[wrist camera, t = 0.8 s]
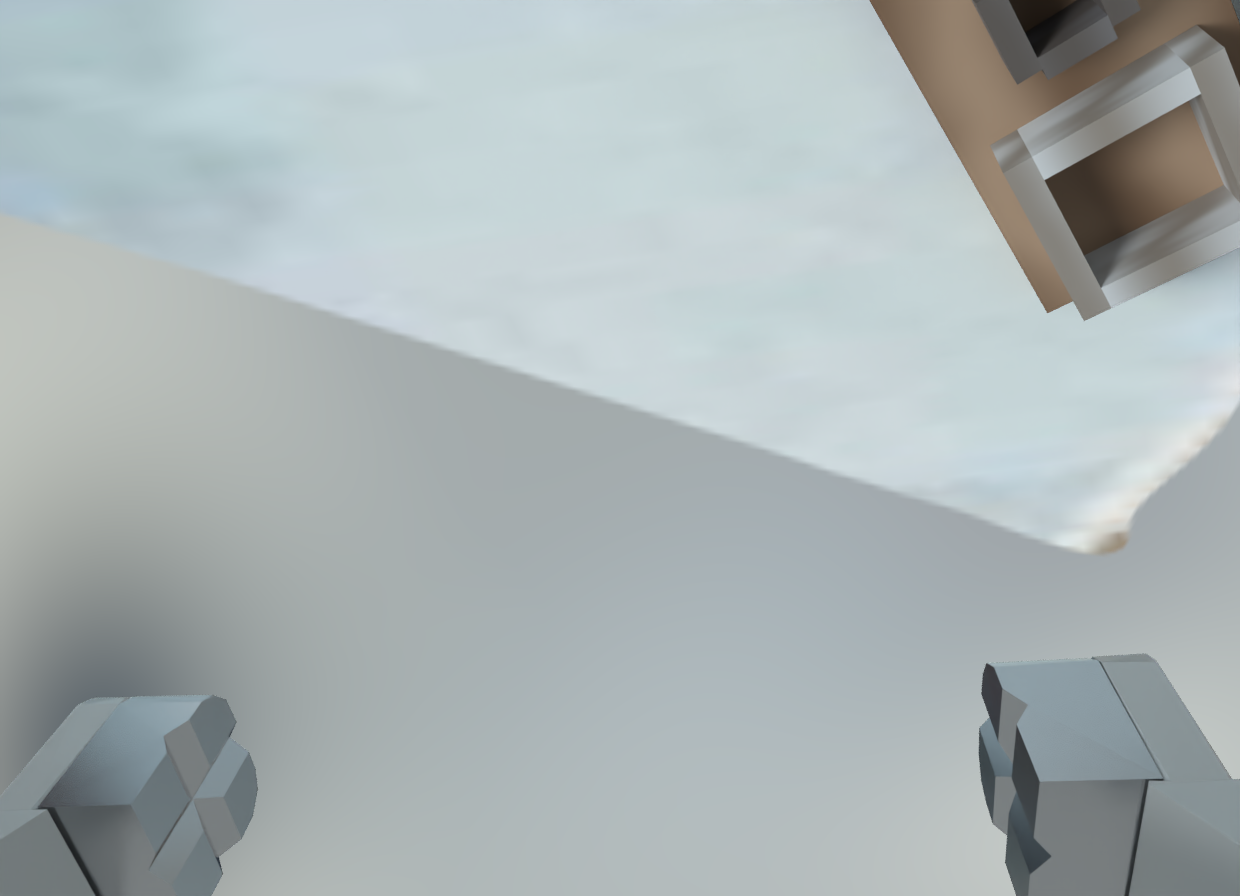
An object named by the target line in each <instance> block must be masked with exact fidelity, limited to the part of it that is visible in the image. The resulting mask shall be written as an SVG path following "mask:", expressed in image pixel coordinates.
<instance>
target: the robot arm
mask: <svg viewBox="0 0 1240 896" xmlns="http://www.w3.org/2000/svg"><path fill="white" fill-rule="evenodd" d="M982 679H983V680H982V692H981V694H982V697H983V700H984V703H985V706H986V709H987V711H988V714H989V718H988V719H987V721H986V722H985V723H984V724H983V725H982V726H981V727H980V728H979V762H980V772H981V782H982V785H983V790H984V795H985V800H986V804H987V807H988V810H989V813H990V816H991V820H992V823H993V824H994V825H995V826H996V827H997V828H998V829H1000V830H1001V831H1002V832H1003V833H1005V834H1006V835H1007V845H1006V860H1005V863H1006V866H1007V869H1008V872H1009V875H1010V878H1011V881H1012V884H1013V887H1014V890H1015V893H1016V896H1240V779H1232V778H1231V776H1230V775H1229V773H1228V772H1227V770H1226V769H1225V767H1224V766H1223V764H1222V763H1221V761H1220V759H1219V758H1218V756H1217V755H1216V753H1215V752H1214V750H1213V749H1212V747H1211V745H1210V744H1209V742H1208V741H1207V739H1206V737H1205V736H1204V734H1203V733H1202V731H1201V730H1200V728H1199V727H1198V725H1197V723H1196V722H1195V720H1194V719H1193V717H1192V716H1191V714H1190V712H1189V711H1188V709H1187V708H1186V706H1185V705H1184V703H1183V702H1182V700H1181V698H1180V697H1179V695H1178V694H1177V692H1176V691H1175V689H1174V688H1173V686H1172V684H1171V683H1170V682H1169V680H1168V678H1167V677H1166V675H1165V673H1164V672H1163V670H1162V669H1161V667H1160V666H1159V664H1158V663H1157V661H1156V660H1155V659H1154V658H1152V657H1151V656H1149V655H1148V654H1130V655H1114V656H1097V657H1092V658H1091V659H1088V658H1079V659H1059V660H1037V661H1017V662H996V663H986V666H985V669H984V672H983V678H982ZM235 724H236V720H235V718H234V715H233V713H232V711H231V709H230V707H229V705H228V703H227V700H226V699H223V698H220V697H217V696H214V695H193V696H192V695H191V696H134V697H132V698H92V699H90V700H88V701H85V702H84V703H81V704H79V705H78V706H77V707H76V708H75V709H74V710H73V711H72V712H71V714H70V715H69V716H68V717H67V718H66V720H65V721H64V722H63V723H62V724H61V725H60V727H59V728H58V729H57V730H56V731H55V733H54V734H53V735H52V736H51V737H50V738H49V740H48V741H47V742H46V743H45V744H44V746H43V747H42V748H41V749H40V750H39V751H38V753H37V754H36V755H35V756H34V757H33V758H32V760H31V761H30V762H29V763H28V764H27V766H26V767H25V768H24V769H23V770H22V771H21V772H20V774H19V775H18V776H17V777H16V779H15V780H14V781H13V782H12V783H11V784H10V785H9V787H8V788H7V789H6V790H5V792H4V793H3V794H2V795H1V796H0V896H211V895H212V894H213V892H214V890H215V888H216V886H217V884H218V882H219V880H220V878H221V877H222V875H223V872H222V868H221V864H220V860H219V856H220V855H222V854H223V853H224V852H225V851H227V850H228V849H229V848H231V847H232V846H233V845H234V844H236V843H237V842H238V841H239V840H241V839H242V837H243V835H244V833H245V831H246V829H247V827H248V825H249V823H250V821H251V819H252V817H253V812H254V807H255V802H256V796H257V791H258V787H257V778H256V769H255V766H254V764H253V761H252V759H251V756H250V753H249V752H248V751H247V750H246V749H244V748H243V747H242V746H241V745H239V744H238V743H237V742H235V741H234V740H233V739H231V738H230V735H231V733H232V731H233V729H234V727H235Z"/></svg>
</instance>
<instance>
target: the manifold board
mask: <svg viewBox="0 0 1240 896" xmlns="http://www.w3.org/2000/svg"><path fill="white" fill-rule="evenodd" d="M870 2H871V4H872V6H873V7H874V9H875V11H876V13H877V14H878V16H879V18H880V20H881V21H882V23H883V25H884V27H885V29H886V30H887V32H888V34H889V36H890V37H891V39H892V41H893V43H894V44H895V46H896V48H897V50H898V51H899V53H900V55H901V57H902V58H903V60H904V62H905V64H906V65H907V67H908V69H909V71H910V72H911V74H912V76H913V78H914V79H915V81H916V83H917V85H918V87H919V88H920V90H921V92H922V94H923V95H924V97H925V99H926V101H927V102H928V104H929V106H930V108H931V109H932V111H933V113H934V115H935V116H936V118H937V120H938V122H939V123H940V125H941V127H942V129H943V130H944V132H945V134H946V136H947V137H948V139H949V141H950V143H951V145H952V146H953V148H954V150H955V152H956V153H957V155H958V157H959V159H960V160H961V162H962V164H963V166H964V167H965V169H966V171H967V173H968V174H969V176H970V178H971V180H972V181H973V183H974V185H975V187H976V188H977V190H978V192H979V194H980V195H981V197H982V199H983V201H984V202H985V204H986V206H987V208H988V210H989V211H990V213H991V215H992V217H993V218H994V220H995V222H996V224H997V225H998V227H999V229H1000V231H1001V232H1002V234H1003V236H1004V238H1005V239H1006V241H1007V243H1008V245H1009V246H1010V248H1011V250H1012V252H1013V253H1014V255H1015V257H1016V259H1017V260H1018V262H1019V264H1020V266H1021V268H1022V269H1023V271H1024V273H1025V275H1026V276H1027V278H1028V280H1029V282H1030V283H1031V285H1032V287H1033V289H1034V290H1035V292H1036V294H1037V296H1038V297H1039V299H1040V301H1041V303H1042V304H1043V306H1044V308H1045V310H1046V311H1047V313H1049V312H1051V311H1053V310H1055V309H1057V308H1060V307H1062V306H1064V305H1066V304H1068V303H1070V302H1072V301H1073V302H1074V304H1075V305H1076V307H1077V309H1078V311H1079V313H1080V314H1081V316H1082V318H1083V320H1084V321H1085V320H1087V319H1089V318H1092V317H1094V316H1096V315H1098V314H1100V313H1102V312H1104V311H1106V310H1108V309H1111V308H1113V307H1115V306H1117V305H1119V304H1121V303H1123V302H1125V301H1128V300H1130V299H1132V298H1134V297H1136V296H1138V295H1140V294H1142V293H1144V292H1147V291H1149V290H1151V289H1153V288H1155V287H1157V286H1159V285H1161V284H1163V283H1166V282H1168V281H1170V280H1172V279H1174V278H1176V277H1178V276H1180V275H1182V274H1185V273H1187V272H1189V271H1191V270H1193V269H1195V268H1197V267H1199V266H1201V265H1204V264H1206V263H1208V262H1210V261H1212V260H1214V259H1216V258H1218V257H1221V256H1223V255H1225V254H1227V253H1229V252H1231V251H1233V250H1235V249H1237V248H1240V23H1239V20H1238V18H1237V15H1236V12H1235V10H1234V7H1233V4H1232V2H1231V0H870Z"/></svg>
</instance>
